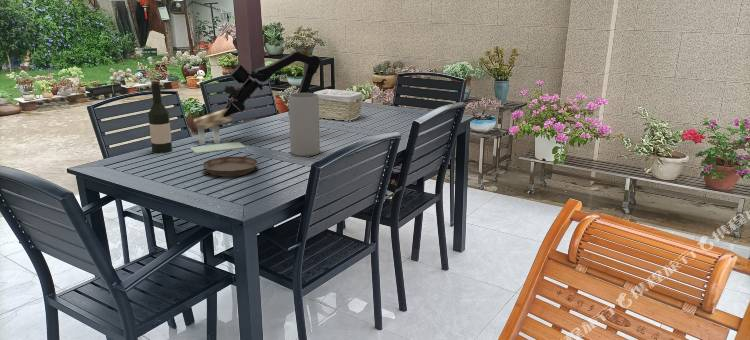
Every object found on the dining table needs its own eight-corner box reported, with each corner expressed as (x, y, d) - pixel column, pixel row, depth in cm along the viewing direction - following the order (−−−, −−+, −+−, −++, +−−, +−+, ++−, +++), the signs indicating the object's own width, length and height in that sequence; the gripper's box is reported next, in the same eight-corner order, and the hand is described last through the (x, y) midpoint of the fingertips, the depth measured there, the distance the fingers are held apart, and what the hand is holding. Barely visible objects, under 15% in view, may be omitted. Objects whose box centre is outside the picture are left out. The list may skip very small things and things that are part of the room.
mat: (239, 142, 256) (239, 141, 256) (245, 147, 248) (245, 146, 247) (190, 148, 245) (190, 147, 245) (195, 153, 237) (195, 152, 237)
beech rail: (231, 117, 258) (228, 107, 256) (232, 120, 255) (228, 110, 253) (198, 128, 256) (193, 119, 253) (198, 131, 253) (193, 121, 250)
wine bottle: (165, 154, 236) (158, 83, 227) (148, 152, 238) (140, 82, 229) (176, 149, 244) (169, 80, 235) (159, 148, 245) (152, 79, 237)
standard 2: (218, 139, 262) (217, 122, 260) (220, 143, 255) (218, 126, 253) (213, 139, 261) (211, 122, 259) (214, 143, 254) (213, 126, 252)
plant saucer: (236, 160, 229) (235, 152, 228) (269, 170, 217) (268, 161, 216) (192, 171, 214) (191, 163, 213) (225, 182, 201) (224, 174, 200)
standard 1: (204, 140, 260) (202, 123, 258) (205, 144, 253) (204, 126, 251) (198, 140, 259) (197, 123, 257) (199, 144, 252) (198, 127, 250)
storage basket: (363, 117, 314) (363, 91, 310) (350, 123, 300) (350, 95, 296) (326, 113, 324) (326, 88, 320) (312, 118, 310) (311, 92, 306)
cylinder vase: (314, 157, 234) (313, 98, 227) (286, 155, 236) (284, 96, 229) (323, 150, 246) (322, 93, 238) (296, 148, 248) (294, 92, 241)
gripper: (230, 75, 260) (208, 100, 259) (235, 81, 243) (211, 107, 243) (248, 91, 265) (226, 116, 264) (255, 98, 248) (231, 124, 248)
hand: (223, 115), depth 255 cm, fingers closed on beech rail, 4 cm apart
